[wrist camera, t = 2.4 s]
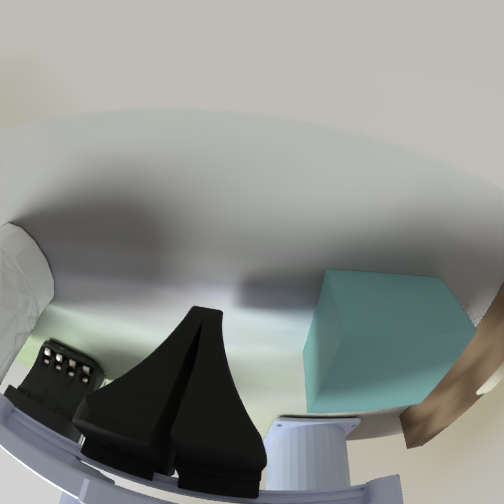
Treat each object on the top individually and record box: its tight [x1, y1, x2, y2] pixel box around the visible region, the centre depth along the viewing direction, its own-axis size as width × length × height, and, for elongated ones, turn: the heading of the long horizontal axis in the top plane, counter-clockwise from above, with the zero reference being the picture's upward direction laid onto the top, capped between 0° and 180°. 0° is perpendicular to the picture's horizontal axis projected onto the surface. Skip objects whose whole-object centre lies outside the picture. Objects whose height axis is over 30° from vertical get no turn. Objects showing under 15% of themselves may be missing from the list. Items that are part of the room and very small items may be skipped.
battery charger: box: [3, 341, 106, 445], centre depth 14 cm, size 7×4×11 cm, turn 77°
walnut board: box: [399, 283, 504, 449], centre depth 14 cm, size 18×2×4 cm, turn 172°
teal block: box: [303, 268, 477, 413], centre depth 12 cm, size 6×7×4 cm
